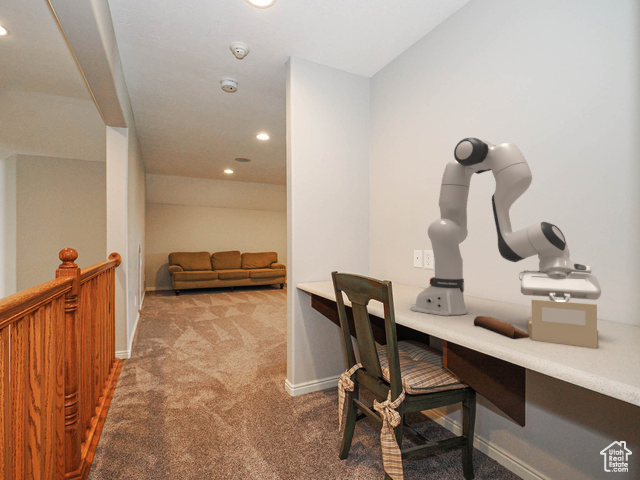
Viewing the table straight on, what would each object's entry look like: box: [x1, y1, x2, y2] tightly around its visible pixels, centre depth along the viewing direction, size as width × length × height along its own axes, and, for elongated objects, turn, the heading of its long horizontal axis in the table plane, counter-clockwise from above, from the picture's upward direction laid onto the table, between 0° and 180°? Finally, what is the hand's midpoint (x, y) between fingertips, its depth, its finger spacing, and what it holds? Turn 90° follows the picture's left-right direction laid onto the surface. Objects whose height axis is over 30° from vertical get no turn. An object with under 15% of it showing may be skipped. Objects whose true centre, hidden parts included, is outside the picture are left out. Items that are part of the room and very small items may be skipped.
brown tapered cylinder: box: [473, 315, 530, 340], centre depth 106 cm, size 18×7×7 cm
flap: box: [531, 298, 598, 349], centre depth 93 cm, size 15×1×12 cm, turn 60°
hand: (560, 307), depth 97 cm, fingers closed
